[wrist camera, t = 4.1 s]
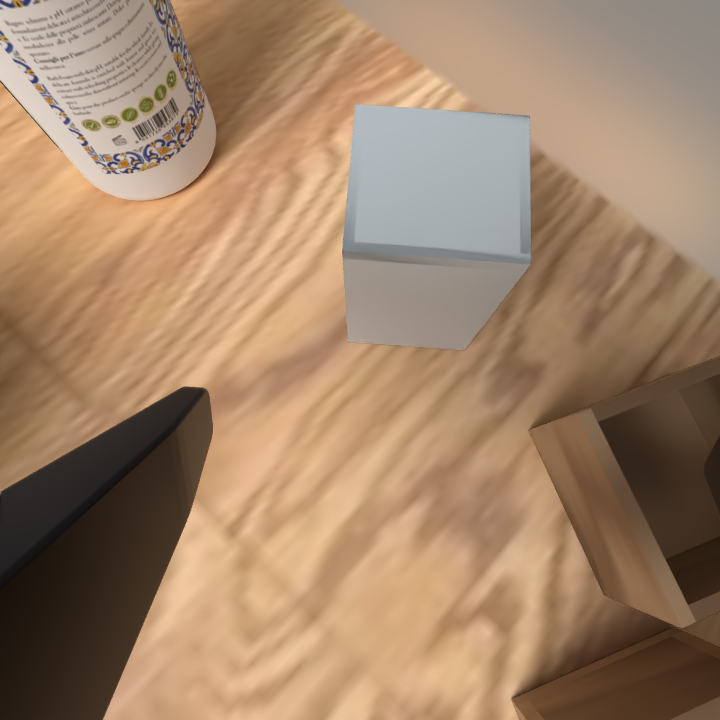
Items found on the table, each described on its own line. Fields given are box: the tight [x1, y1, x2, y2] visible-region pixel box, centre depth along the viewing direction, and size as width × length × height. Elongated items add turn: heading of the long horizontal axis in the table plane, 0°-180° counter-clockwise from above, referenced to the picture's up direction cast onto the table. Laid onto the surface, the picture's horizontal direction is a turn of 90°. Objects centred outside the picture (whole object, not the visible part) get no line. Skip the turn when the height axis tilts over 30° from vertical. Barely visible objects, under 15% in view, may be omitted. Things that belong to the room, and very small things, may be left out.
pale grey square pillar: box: [342, 104, 531, 350], centre depth 19 cm, size 5×5×9 cm
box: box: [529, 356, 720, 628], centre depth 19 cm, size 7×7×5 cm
